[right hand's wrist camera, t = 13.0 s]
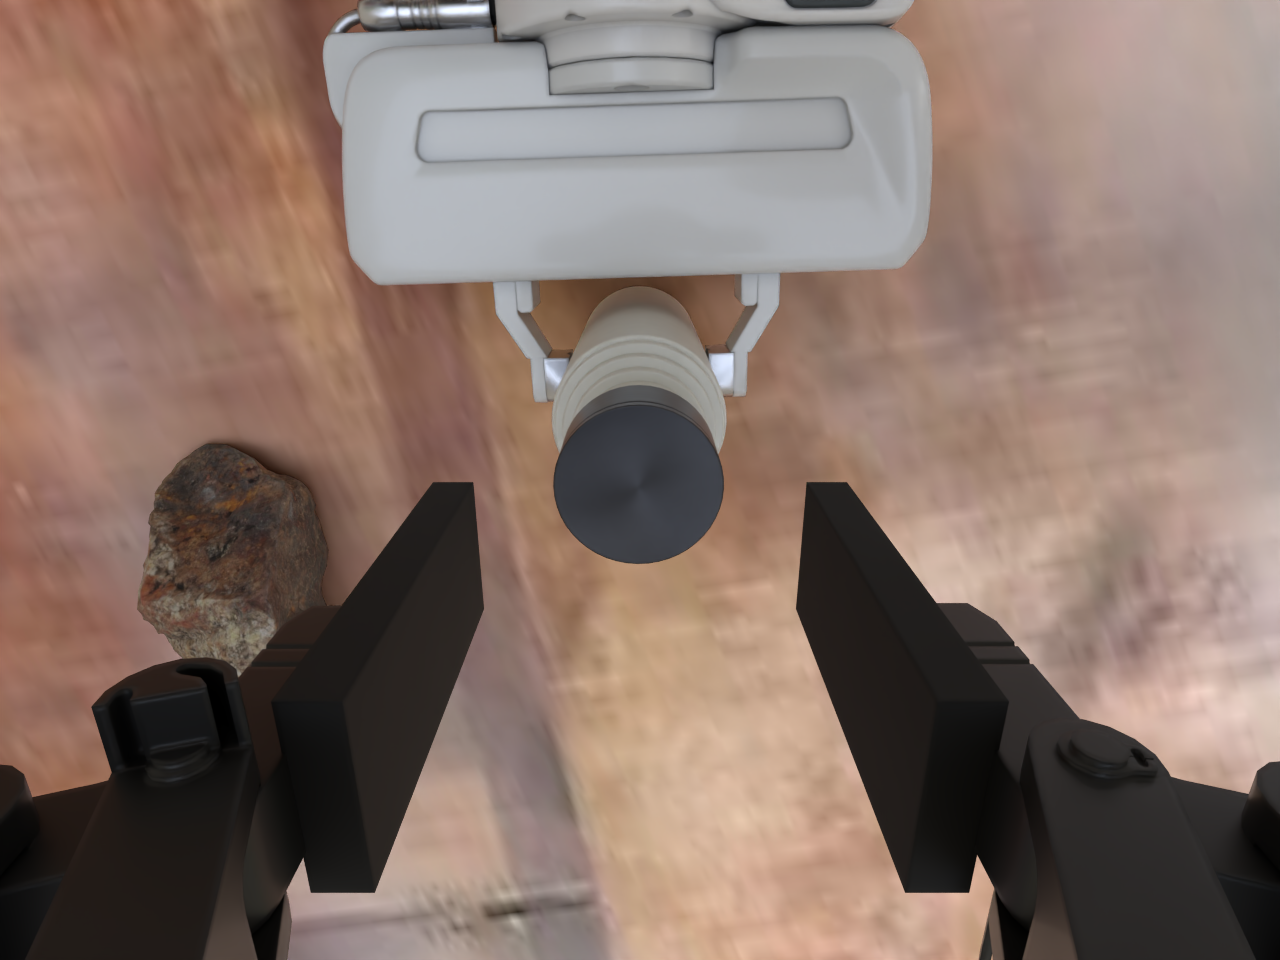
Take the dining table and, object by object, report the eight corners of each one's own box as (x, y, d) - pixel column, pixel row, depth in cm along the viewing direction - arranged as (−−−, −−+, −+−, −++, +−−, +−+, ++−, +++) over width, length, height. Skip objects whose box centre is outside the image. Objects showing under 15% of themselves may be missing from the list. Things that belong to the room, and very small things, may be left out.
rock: (357, 440, 38) (160, 437, 38) (278, 488, 29) (25, 485, 29) (380, 692, 42) (202, 690, 42) (317, 797, 33) (94, 795, 33)
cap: (539, 497, 20) (528, 528, 18) (596, 359, 18) (591, 377, 16) (677, 550, 20) (681, 587, 18) (741, 420, 19) (753, 445, 17)
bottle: (566, 372, 36) (496, 534, 18) (609, 267, 34) (575, 334, 16) (668, 414, 36) (693, 609, 19) (714, 313, 35) (789, 425, 17)
